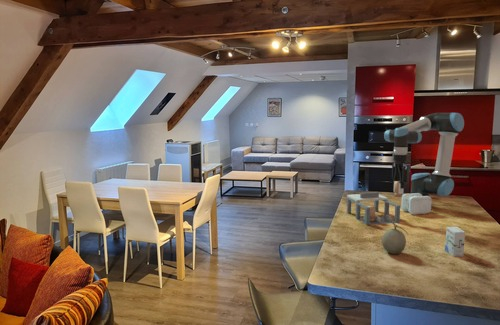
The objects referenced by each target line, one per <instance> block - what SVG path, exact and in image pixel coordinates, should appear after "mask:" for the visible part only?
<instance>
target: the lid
mask: <svg viewBox="0 0 500 325" xmlns="http://www.w3.org/2000/svg"><path fill="white" fill-rule="evenodd" d="M347 197H349V198H351V199H353V200H355V201H356V202H371V201H372V202H374V201H376V200H379V201H382V200H389V199H388V198H389V197H387V196H384V195H382V194H380V192H378V191H371V192H369V191H368V192H360V193H359V194H358V193H356V194H346V198H347Z"/></svg>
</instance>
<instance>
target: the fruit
mask: <svg viewBox="0 0 500 325" xmlns="http://www.w3.org/2000/svg"><path fill="white" fill-rule="evenodd" d="M387 220H388V219H387ZM388 221H390V220H388ZM390 222H391V221H390ZM390 224H392V225H393V226H394V227H393V228H390V229H387V230H386V231H385V232H384V233H383V235H382V237H381V238H382V239H381V243H382V247H383V249H384V250H385V251H386V252H387V253H389V254H392V255H398V254H401V253H402V252H403V251H404V250H405V247H406V245H407V239H406V236H405V234H404V232H405V233H406V234H407V235H409V233H408V232H407V231H406V230H405V229H404V228H403V227H401V226H399V225H397V224H396V223H393V222H391V223H390ZM398 228H399V229H398ZM401 230H403V231H404V232H403V231H401Z"/></svg>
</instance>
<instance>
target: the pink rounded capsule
mask: <svg viewBox="0 0 500 325" xmlns="http://www.w3.org/2000/svg"><path fill="white" fill-rule="evenodd" d="M399 182H400V180H399V181H395V190H394V189H393V193H394V194H393V197H394V198H402V195H403V194H399Z"/></svg>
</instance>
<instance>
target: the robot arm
mask: <svg viewBox="0 0 500 325" xmlns="http://www.w3.org/2000/svg"><path fill="white" fill-rule="evenodd" d="M464 126H465V120H464V116H463V115H462V114H461V113H459V112H434V113H431V114H428V115H424V116H421V117H420V118H419V120H418V119H417V120H416V121H413V122H411V123H409V124H406V125H403V126H400V127H396V128H395V129H386V131H384V132H383V134H384V135H383V136H384V137H383V138H384V140H385V142H390V143H394V144H393V155H392V156H393V161H394V163H393V162H392V163H391V180H392V181H393V191H394V190H395V181H400V182H399V194H402V195H403V194H404V189H405V183H407V182H408V170H409V166H408V165H406V162H407V161H408V150H409V149H408V148H409V147H408V144H418V143H420V142H421V141H422V139H423V135H422V133H421V132H428V131H438V134H439V135H440V137H439V143H438V147H437V148H438V149H437V155H436V162H435V168H434V171H433V172H432V173H430V172H418V173H414V174H412V175H411V179H410V180H411V184H410V185H411V186H410V194H412V193H420V194H422V196H429V197H430V194H431V195H435V196H440V197H443V196H444V197H447V196H449V195H450V194H451V193H452V191H453V190H454V187H455V182H454V179H452V175H451V174H450V170H451V164H452V159H453V152H454V147H455V140H456V137H457V136H458V135H459V132H462V131H463V129H464ZM432 206H433V205H432V202H431V208H432Z"/></svg>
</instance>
